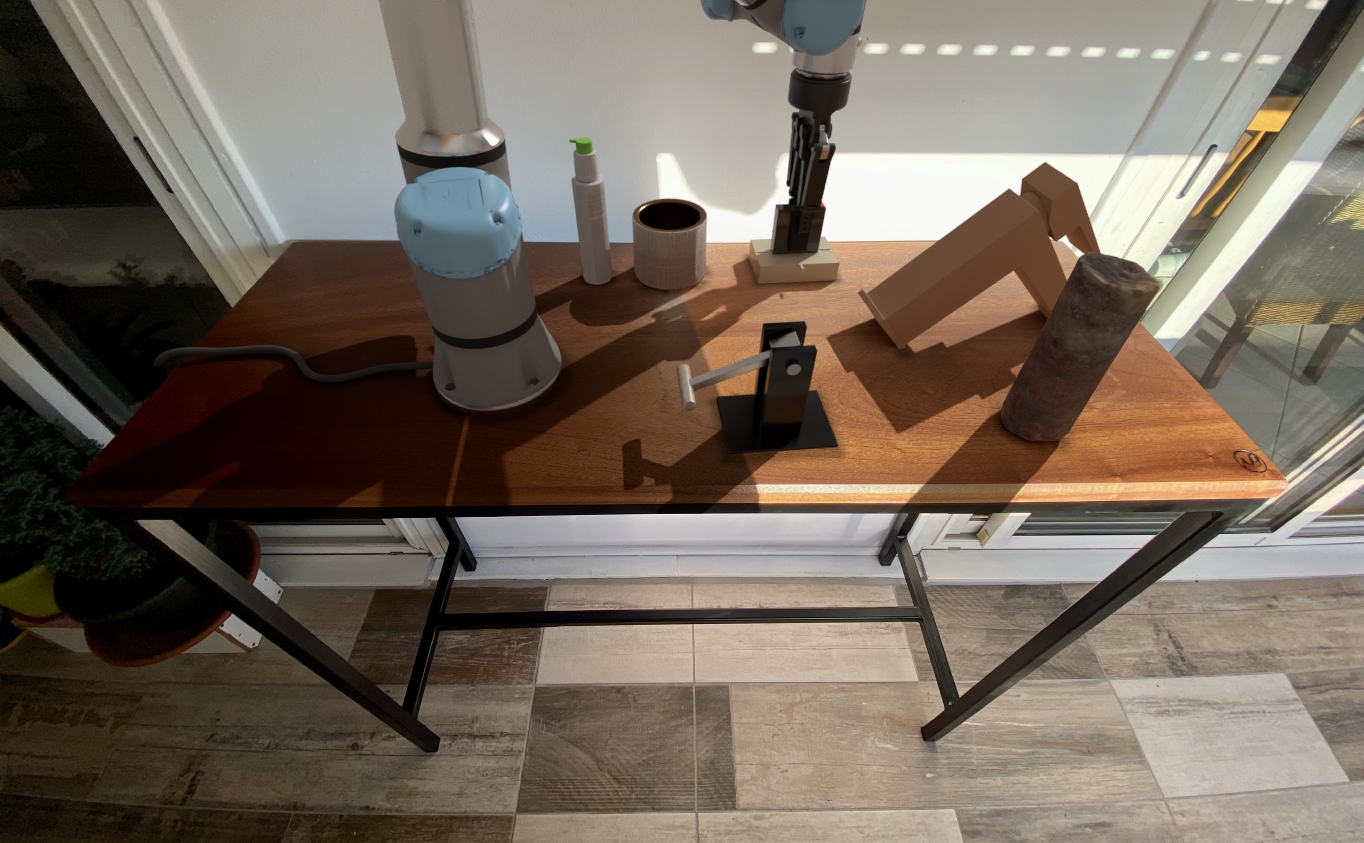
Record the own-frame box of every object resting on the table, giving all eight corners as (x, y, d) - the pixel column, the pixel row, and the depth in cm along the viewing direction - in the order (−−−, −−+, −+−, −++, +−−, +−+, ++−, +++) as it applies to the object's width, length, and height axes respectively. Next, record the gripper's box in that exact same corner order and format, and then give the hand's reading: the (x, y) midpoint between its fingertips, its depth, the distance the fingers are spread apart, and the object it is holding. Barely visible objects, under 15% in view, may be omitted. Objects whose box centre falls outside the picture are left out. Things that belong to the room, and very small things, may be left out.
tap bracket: (728, 460, 64) (737, 369, 55) (716, 403, 71) (722, 313, 62) (836, 452, 65) (862, 361, 56) (815, 397, 72) (835, 307, 63)
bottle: (597, 266, 93) (583, 131, 79) (618, 275, 91) (607, 139, 77) (577, 278, 90) (559, 141, 76) (598, 288, 88) (583, 149, 74)
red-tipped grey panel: (772, 254, 90) (778, 208, 85) (770, 248, 91) (775, 202, 86) (817, 252, 90) (826, 206, 85) (814, 246, 92) (823, 201, 86)
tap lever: (686, 416, 61) (678, 401, 60) (681, 378, 65) (673, 363, 64) (810, 373, 59) (805, 356, 57) (795, 337, 63) (790, 320, 61)
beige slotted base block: (760, 289, 88) (762, 270, 86) (746, 251, 96) (748, 233, 94) (838, 285, 89) (843, 267, 87) (819, 248, 97) (822, 230, 95)
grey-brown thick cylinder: (1002, 392, 73) (1081, 241, 59) (1068, 412, 70) (1166, 259, 56) (993, 432, 68) (1077, 278, 54) (1064, 454, 65) (1171, 299, 51)
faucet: (947, 410, 88) (1120, 303, 78) (879, 323, 73) (1079, 181, 64) (925, 379, 93) (1085, 275, 83) (857, 292, 78) (1040, 156, 69)
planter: (717, 266, 93) (720, 207, 86) (685, 300, 86) (686, 239, 79) (656, 249, 97) (655, 191, 90) (621, 281, 90) (616, 221, 83)
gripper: (871, 88, 68) (833, 270, 85) (834, 53, 79) (806, 220, 96) (807, 90, 68) (781, 272, 84) (778, 54, 79) (760, 222, 95)
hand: (794, 244), depth 90 cm, fingers open, 2 cm apart
